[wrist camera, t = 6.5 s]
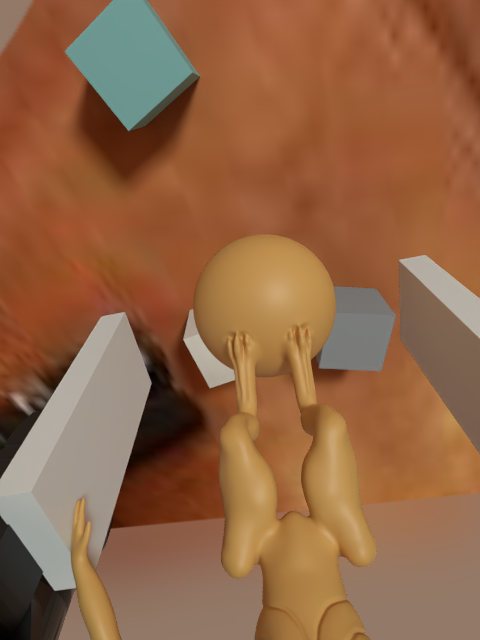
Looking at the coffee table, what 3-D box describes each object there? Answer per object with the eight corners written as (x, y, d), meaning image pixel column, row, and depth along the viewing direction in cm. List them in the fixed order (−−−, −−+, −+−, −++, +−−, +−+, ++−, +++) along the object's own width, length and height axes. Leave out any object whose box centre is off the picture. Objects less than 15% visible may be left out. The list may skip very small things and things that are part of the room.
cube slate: (309, 336, 37) (318, 368, 33) (317, 285, 35) (328, 312, 30) (364, 338, 37) (381, 370, 33) (375, 288, 35) (395, 315, 31)
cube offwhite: (213, 354, 38) (209, 388, 34) (189, 310, 36) (183, 339, 31) (263, 337, 37) (267, 369, 33) (243, 290, 35) (243, 317, 31)
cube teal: (145, 126, 29) (128, 130, 25) (92, 59, 27) (64, 51, 23) (200, 76, 28) (192, 72, 23) (148, 2, 26) (130, -18, 21)
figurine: (390, 200, 12) (1386, 820, 2) (384, 366, 15) (741, 989, 4) (118, 237, 13) (-465, 927, 2) (161, 392, 15) (6, 1024, 5)
